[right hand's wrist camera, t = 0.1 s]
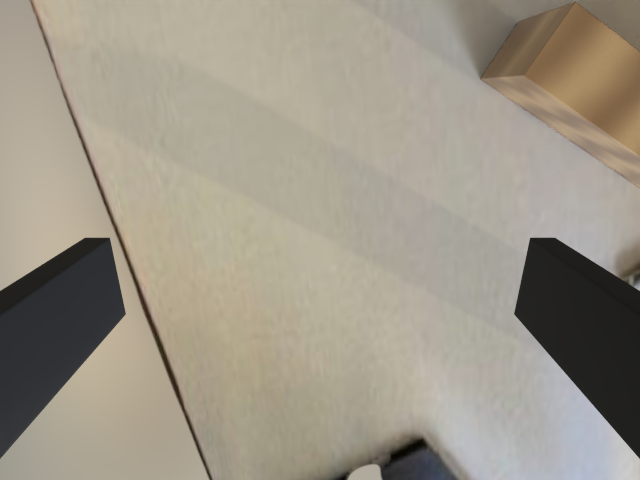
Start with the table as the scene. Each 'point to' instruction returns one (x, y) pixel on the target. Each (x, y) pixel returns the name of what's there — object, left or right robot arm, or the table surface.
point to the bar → (575, 83)
